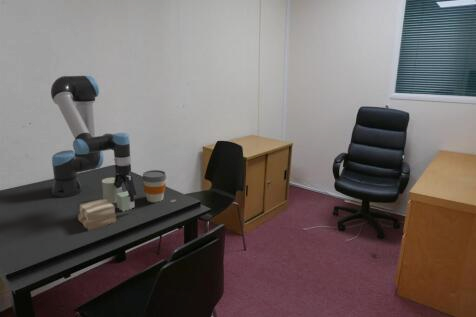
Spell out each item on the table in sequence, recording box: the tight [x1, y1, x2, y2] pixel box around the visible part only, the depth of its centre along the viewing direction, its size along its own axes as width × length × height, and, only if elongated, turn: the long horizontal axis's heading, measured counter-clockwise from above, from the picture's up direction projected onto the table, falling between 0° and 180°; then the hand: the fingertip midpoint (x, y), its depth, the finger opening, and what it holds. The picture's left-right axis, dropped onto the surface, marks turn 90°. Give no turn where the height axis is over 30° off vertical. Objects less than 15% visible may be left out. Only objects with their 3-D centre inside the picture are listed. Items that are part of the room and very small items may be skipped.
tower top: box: [78, 197, 116, 222], centre depth 164 cm, size 12×12×4 cm
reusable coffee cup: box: [142, 169, 167, 203], centre depth 192 cm, size 13×13×15 cm
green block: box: [116, 190, 134, 212], centre depth 180 cm, size 6×6×8 cm
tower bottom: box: [77, 212, 117, 232], centre depth 165 cm, size 13×13×4 cm
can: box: [101, 177, 117, 204], centre depth 188 cm, size 9×9×12 cm
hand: (125, 203), depth 180 cm, fingers open, 13 cm apart
